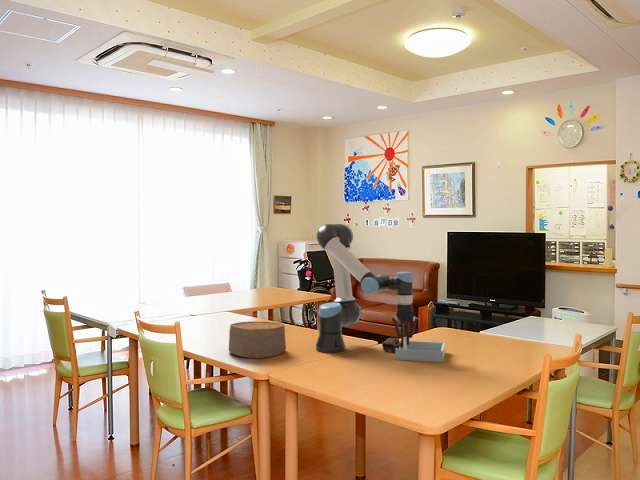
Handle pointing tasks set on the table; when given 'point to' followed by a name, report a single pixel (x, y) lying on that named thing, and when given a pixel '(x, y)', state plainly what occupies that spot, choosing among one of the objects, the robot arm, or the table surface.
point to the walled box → (421, 351)
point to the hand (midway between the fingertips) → (405, 351)
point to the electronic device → (391, 344)
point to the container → (257, 339)
